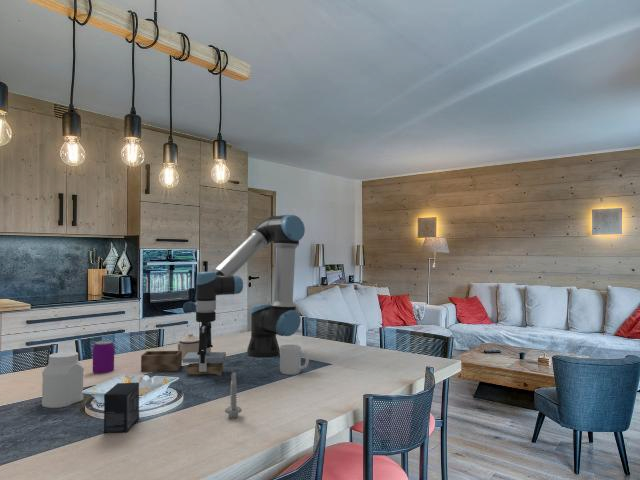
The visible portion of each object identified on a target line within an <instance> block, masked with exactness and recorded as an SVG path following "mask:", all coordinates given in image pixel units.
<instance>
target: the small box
mask: <svg viewBox="0 0 640 480" xmlns="http://www.w3.org/2000/svg"><path fill="white" fill-rule="evenodd" d="M139 388H140V382H117V383H116V384H115V385H114V386H113V387H111V388H110V389H109V390H108V391H107V392H106V393H105V394H103V433H104V434H122V433H123V434H126V433H128V432H129V431H130V430H131V429H132V428H133V426H134V425H135V424H136V423H137V422H138V420H139V419H140V389H139Z"/></svg>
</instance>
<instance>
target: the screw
mask: <svg viewBox="0 0 640 480" xmlns="http://www.w3.org/2000/svg"><path fill="white" fill-rule="evenodd" d="M237 385H238V382H237V373H236V372H234V371H233V372H231V379H230V388H229V389H230V390H229V391H230V396H229V397H230V402H229V404H230V406H228V407H226V408H225V409H224V413H226V414H228V418H229V419H232V420H233V419H237V418H238V417H239V414H240V413H241V412H242V408H241V407H240V406H237V404H238V401H237V398H238V397H237V396H238V395H237V394H238V393H237V392H238V387H237Z"/></svg>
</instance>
